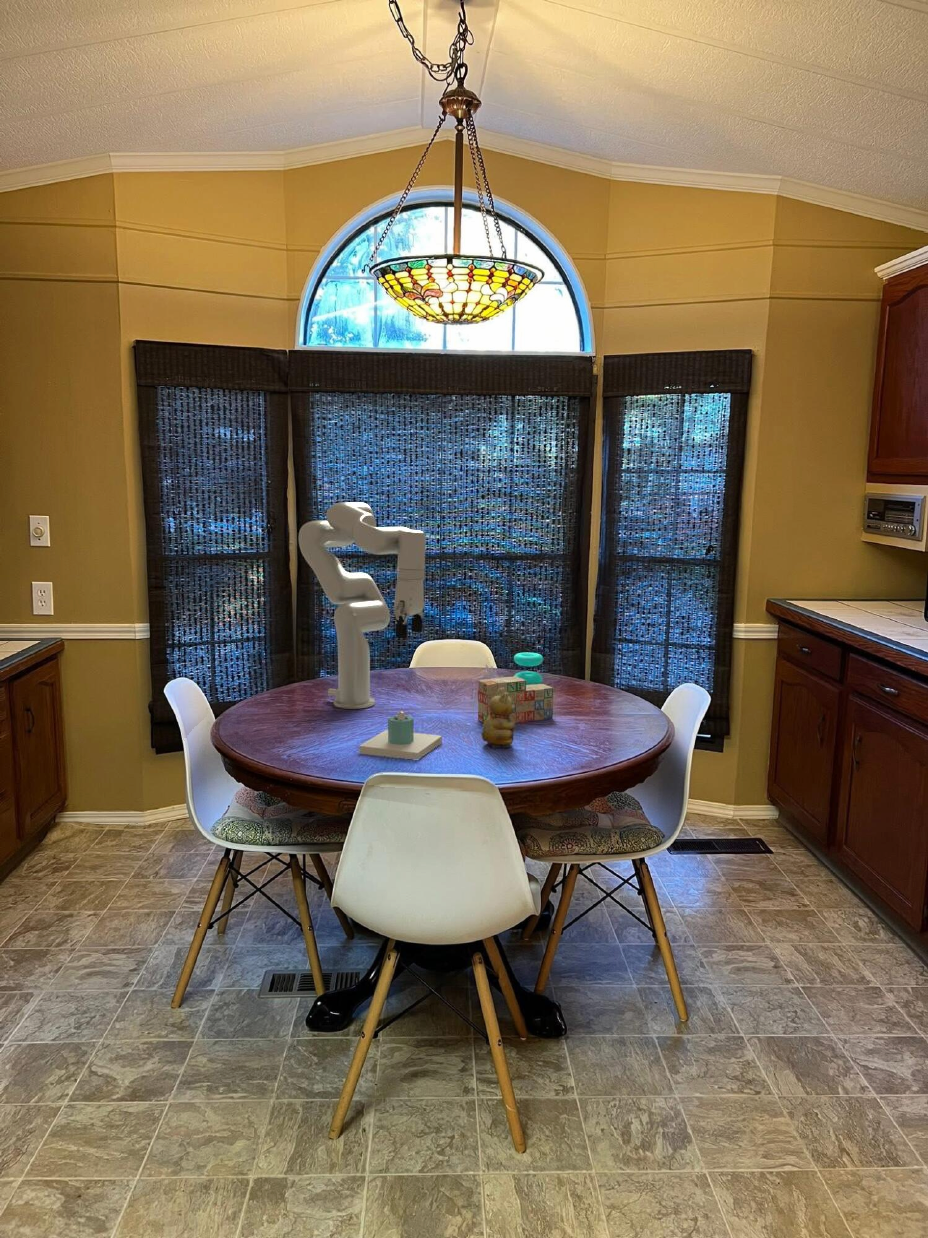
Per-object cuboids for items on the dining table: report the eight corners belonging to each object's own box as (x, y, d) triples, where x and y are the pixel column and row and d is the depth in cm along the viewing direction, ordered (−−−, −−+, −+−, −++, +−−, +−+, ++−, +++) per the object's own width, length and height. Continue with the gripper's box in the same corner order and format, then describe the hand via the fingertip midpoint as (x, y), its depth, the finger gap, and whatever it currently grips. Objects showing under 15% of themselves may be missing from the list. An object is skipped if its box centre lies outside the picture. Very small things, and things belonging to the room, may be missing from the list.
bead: (385, 742, 228) (385, 720, 227) (395, 736, 233) (395, 714, 232) (406, 745, 226) (406, 722, 225) (416, 739, 231) (416, 716, 230)
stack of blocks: (542, 714, 266) (543, 673, 264) (553, 719, 261) (554, 677, 259) (477, 721, 257) (477, 679, 256) (486, 726, 252) (487, 683, 250)
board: (359, 753, 225) (359, 716, 224) (386, 736, 240) (386, 702, 239) (417, 760, 220) (417, 723, 218) (441, 743, 235) (442, 708, 233)
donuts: (542, 657, 299) (512, 656, 300) (541, 687, 300) (512, 685, 302) (544, 652, 309) (515, 651, 310) (543, 680, 310) (514, 679, 311)
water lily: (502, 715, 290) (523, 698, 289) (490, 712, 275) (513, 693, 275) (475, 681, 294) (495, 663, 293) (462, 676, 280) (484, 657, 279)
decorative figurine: (518, 749, 230) (519, 692, 228) (488, 751, 228) (488, 694, 226) (506, 739, 239) (507, 684, 237) (476, 741, 237) (477, 685, 235)
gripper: (412, 570, 258) (410, 628, 261) (384, 576, 242) (382, 638, 245) (436, 572, 255) (434, 631, 258) (409, 579, 240) (407, 641, 243)
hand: (409, 634), depth 252 cm, fingers open, 9 cm apart
